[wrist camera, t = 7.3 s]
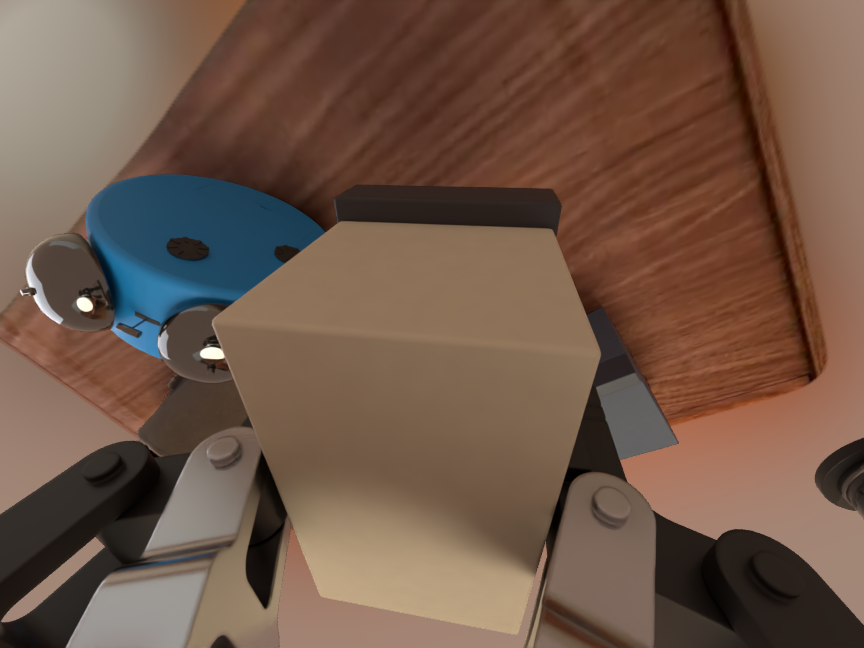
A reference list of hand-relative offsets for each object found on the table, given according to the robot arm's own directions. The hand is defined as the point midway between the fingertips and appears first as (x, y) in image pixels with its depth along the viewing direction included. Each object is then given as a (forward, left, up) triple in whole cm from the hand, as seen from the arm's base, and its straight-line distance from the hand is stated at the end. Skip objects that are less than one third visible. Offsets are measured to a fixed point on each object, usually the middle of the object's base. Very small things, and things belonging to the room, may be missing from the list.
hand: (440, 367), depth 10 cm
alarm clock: (+16, 0, -19) cm, 24 cm away
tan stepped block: (0, +1, -2) cm, 2 cm away
